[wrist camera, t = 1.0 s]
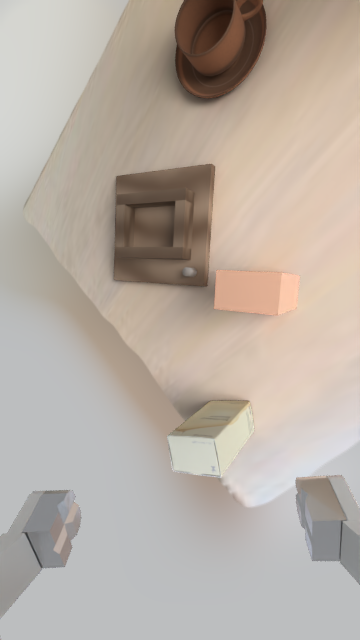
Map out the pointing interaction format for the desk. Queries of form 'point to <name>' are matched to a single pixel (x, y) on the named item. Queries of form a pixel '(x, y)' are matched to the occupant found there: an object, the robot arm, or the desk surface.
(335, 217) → the desk surface
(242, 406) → the skincare box
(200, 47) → the cup and saucer
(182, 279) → the keyed holder
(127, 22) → the desk surface
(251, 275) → the keyed block
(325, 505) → the robot arm
